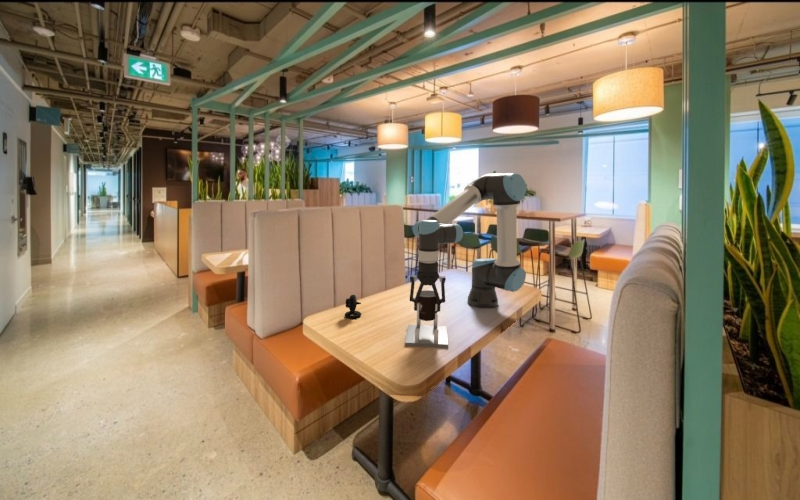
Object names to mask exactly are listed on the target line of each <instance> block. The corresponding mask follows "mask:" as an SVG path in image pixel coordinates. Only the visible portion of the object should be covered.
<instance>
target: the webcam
mask: <svg viewBox="0 0 800 500" xmlns="http://www.w3.org/2000/svg"><path fill="white" fill-rule="evenodd" d="M357 300H358V299H357V297H356V295H355V294H350V296H349V297H348V298H346V299H345V308H347V309H349V311H346V312H345V313H344V317H345V318H346V319H352V320H353V319H354V320H355V319H358V318H361V317H362V312H361V311H358V310H356V309H357V305H361V304H362V302H359V301H357Z"/></svg>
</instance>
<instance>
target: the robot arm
mask: <svg viewBox="0 0 800 500" xmlns="http://www.w3.org/2000/svg"><path fill="white" fill-rule="evenodd" d="M526 185H527V184H526V181H525V179H524V178H523V176H522V175H521V174H519V173H515V172H505V173H504V172H502V173H487V174H484V175H482V176H480V177H478V178H476V179H475V180H472V182H469V184H468V185H466V186H465V187H464V190H463V191H462V192H461V193H460V194H458V195H456V196H455V197H454V198H453V199H452V200H451V201H450V200H449V202H447V203H446V204H445V205H444V206H442V207H441V208H439V210H437V211H436V212H434V213H433V214H432V215H431V216H429V217H428V218H426V219H423V220H418V221H416V222H415V223H414V224H413V226H412V232H413V235H414V236H415V237H416V238H418V265H417V267H418V268H417V274H415V275H412V274H411V275H410V278H409V279H410V282H411V284H410V293H409V301H410V302H412V303H413V304H414V305H413V306H414V307H413V311H415V312H416V321H417V320H419V303H418V299H419V295H420V294H421V291H423V288H424V286H431V287H432V291H434V294H435V296H436V300H437V301H438V302H439V304H440V305H441V304H443V303H446V289H445V283H446V279H447V278H446V276H443V275H440V274H439V262H438V261H439V251H440V250H439V246H440V245H445V244H456V243H459V242H461V240H462V239H463V237H464V231H463V228H462V226H461V225H460V224H459V223H452V222H453V221H454V220H456V219H457V218H458V217H460V216H461V215H462V214H463V213H465V212H466V211H467V210H469V209H470V208H471V207H472V206H474V205H478V204H479V203H480V202H483V201H485V200H492V205H493V206H494V207H495V209H496V250H497V252H496V253H497V254H496V255H497V259H496V258H490V257H489V258H488V257H487V258H486V257H485V258H477V259H474V260H473V261H472V267H471V288H470V291H469V294H468V296H467V304H469V306H472V307H477V308H481V309H482V308H483V309H486V308H487V309H490V308H495V307H497V306H498V304H499V299H498V295H497V292H496V289H501V290H503V291H506V292H507V291H509V292H512V293H513V292H514V293H515V292H517V291H520V289H521V288H522V287H523V285H524V284H525V281H526V277H527V276H526V275H527V274H526V271H525V269H524V268H523V267H521V261H520V260H519V259H518V258H517V257H518V256H517V253H518V249H517V247H518V245H517V244H518V243H517V242H518V241H517V238H518V237H517V234H518V232H517V231H518V230H517V225H518V224H517V223H518V222H517V220H518V219H517V214H518V213H517V208H518V206H520V204H521V200H523V199H524V198H525V196H526V193H527V186H526ZM417 279H418V280H419V282H420V283H419V287H418V288H417V291H416V293H417V294H416V295H415V297H414V292H415V284H416V283H415V282H416V281H417ZM438 279H439V282H440V284H441V285H440V287H441V289H440V290H441V298H440V296H439V292H438V289H437V288H438V287H437V285H436V282H437V281H438ZM438 308H439V306H438V304H437V303H436V304H435V311H437V310H438ZM439 312H441V309H440V310H439V311H438V312H437V313H435V320H437V315H438V313H439Z"/></svg>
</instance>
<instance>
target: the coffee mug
mask: <svg viewBox="0 0 800 500" xmlns="http://www.w3.org/2000/svg"><path fill="white" fill-rule="evenodd" d="M415 293H416V294H417V292H415ZM418 303H419V319H421V321H424V322H430V321H434V319H435V313H437V314H438V313H439V312H438V311H439V310H440V311H441V304H439V302H438V301H437V300H436V296H435V294H434V291H433V290H428V289H427V290H425V289H424V290H423V289H422V291H421V294H420V295H419V299H418ZM436 303H437V304H438V306H439V308H438V310H437V311H435V304H436Z"/></svg>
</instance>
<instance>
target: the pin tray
mask: <svg viewBox="0 0 800 500" xmlns="http://www.w3.org/2000/svg"><path fill="white" fill-rule="evenodd" d="M438 317H439V315H438V314H437V320H435V319H434V320H433V325H425V324H423V325H422V323H421V322H422V320H421V319H419V320H417V319H416V324H407V327H406V335H405V341H404V346H407V347H427V348H429V347H430V348H431V347H432V348H448V349H449V341H448V340H449V338H448V329H447V326H446V325H438Z"/></svg>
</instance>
